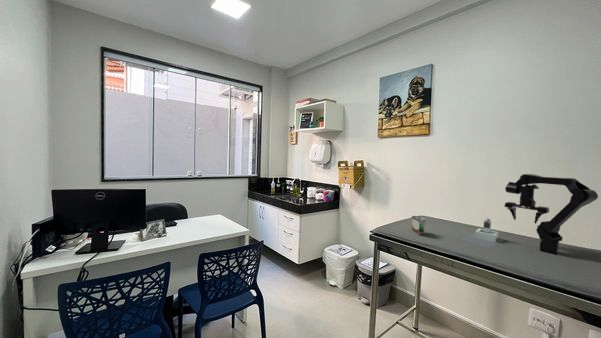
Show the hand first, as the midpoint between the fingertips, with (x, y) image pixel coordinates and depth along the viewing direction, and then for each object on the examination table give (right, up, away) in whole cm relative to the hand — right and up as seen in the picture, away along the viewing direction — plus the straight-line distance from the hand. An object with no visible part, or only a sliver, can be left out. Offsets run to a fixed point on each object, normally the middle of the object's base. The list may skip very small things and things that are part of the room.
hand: (524, 221), depth 145 cm
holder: (-17, -12, +8) cm, 22 cm away
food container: (-54, -11, +17) cm, 58 cm away
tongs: (-17, -12, +8) cm, 22 cm away
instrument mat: (-22, -12, +5) cm, 25 cm away
